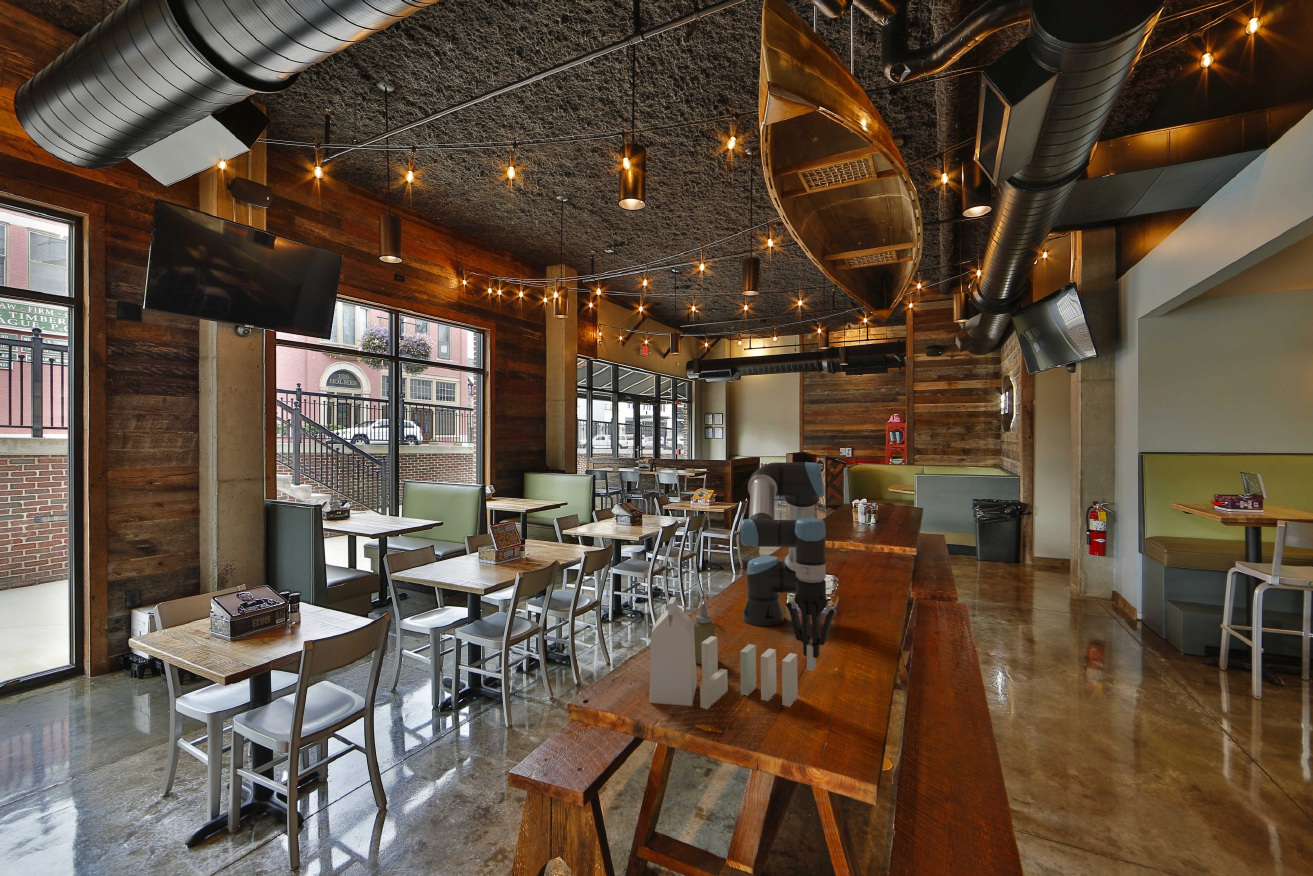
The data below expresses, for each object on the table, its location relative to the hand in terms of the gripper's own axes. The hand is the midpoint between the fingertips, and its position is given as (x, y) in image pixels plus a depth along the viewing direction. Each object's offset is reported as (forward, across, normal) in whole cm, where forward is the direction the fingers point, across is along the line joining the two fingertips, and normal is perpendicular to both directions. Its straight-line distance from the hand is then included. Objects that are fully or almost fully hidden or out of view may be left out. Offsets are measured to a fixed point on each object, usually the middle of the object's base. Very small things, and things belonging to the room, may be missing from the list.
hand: (811, 668), depth 149 cm
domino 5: (+10, -6, 0) cm, 12 cm away
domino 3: (+10, -18, 0) cm, 21 cm away
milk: (+11, -35, -12) cm, 38 cm away
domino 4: (+10, -12, 0) cm, 16 cm away
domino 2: (+7, -24, -3) cm, 25 cm away
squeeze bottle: (+11, -38, +11) cm, 41 cm away
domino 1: (+10, -30, 0) cm, 32 cm away
